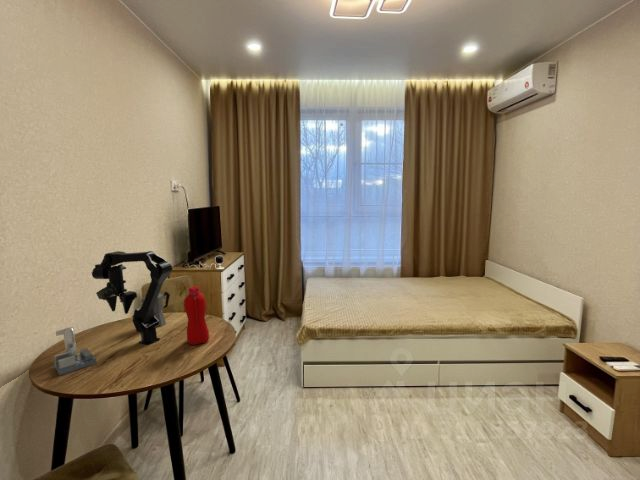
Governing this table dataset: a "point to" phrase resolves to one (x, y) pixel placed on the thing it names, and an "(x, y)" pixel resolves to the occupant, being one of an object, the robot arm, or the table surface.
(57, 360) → the vise
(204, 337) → the water bottle
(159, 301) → the coffeepot
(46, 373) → the table surface
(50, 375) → the table surface
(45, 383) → the table surface
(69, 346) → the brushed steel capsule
